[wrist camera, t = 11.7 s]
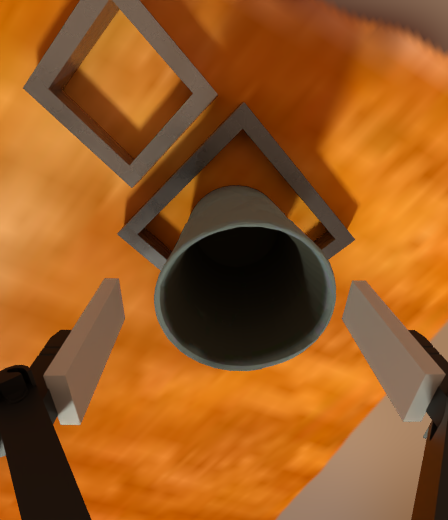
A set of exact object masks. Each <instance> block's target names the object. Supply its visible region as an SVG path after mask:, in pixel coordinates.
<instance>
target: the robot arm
mask: <svg viewBox="0 0 448 520" xmlns="http://www.w3.org/2000/svg"><path fill="white" fill-rule="evenodd" d="M124 319H125V315H124V309H123V303H122V296H121V290H120V284H119V279H115V278H105V279H104V280H103V282H102V283H101V285H100V286H99V288H98V290H97V291H96V293H95V294H94V296H93V298H92V299H91V301H90V302H89V304H88V305H87V307H86V309H85V310H84V312H83V313H82V315H81V317H80V318H79V320H78V321H77V323H76V324H75V326H74V328H73V329H72V330H60V331H59V332H57V333H56V334H55V335H54V336H52V337H51V338H50V339H49V341H48V342H47V344H46V345H45V346H44V348H43V349H42V351H41V352H40V354H39V356H37V358H36V359H35V361H34V362H33V364H32V365H31V366H30V368H29V367H28V366H24V365H14V366H11V367H8V368H5V369H3V370H2V371H0V457H2V456H5V455H6V457H7V461H8V465H9V469H10V474H11V478H12V482H13V486H14V490H15V494H16V499H17V503H18V507H19V511H20V515H21V519H22V520H91V518H90V515H89V513H88V510H87V508H86V505H85V503H84V500H83V498H82V495H81V493H80V490H79V488H78V486H77V483H76V481H75V478H74V476H73V473H72V471H71V468H70V466H69V463H68V461H67V458H66V456H65V453H64V451H63V449H62V446H61V444H60V441H59V439H58V436H57V434H56V431H55V429H54V426H53V423H54V421H55V419H56V417H57V416H58V419H59V421H60V424H61V425H80V424H81V422H82V420H83V417H84V415H85V412H86V410H87V408H88V405H89V403H90V400H91V398H92V396H93V393H94V391H95V389H96V386H97V384H98V381H99V379H100V377H101V374H102V372H103V369H104V367H105V365H106V362H107V360H108V358H109V355H110V353H111V350H112V348H113V346H114V343H115V341H116V338H117V336H118V334H119V331H120V329H121V327H122V324H123V322H124ZM342 320H343V322H344V323H345V325H346V327H347V328H348V330H349V332H350V333H351V335H352V337H353V338H354V340H355V342H356V343H357V345H358V347H359V348H360V350H361V352H362V354H363V355H364V357H365V359H366V360H367V362H368V364H369V365H370V367H371V369H372V370H373V372H374V374H375V375H376V377H377V379H378V380H379V382H380V384H381V385H382V387H383V389H384V390H385V392H386V394H387V396H388V397H389V399H390V401H391V402H392V404H393V406H394V407H395V408H396V410H397V412H398V414H399V416H400V417H401V419H402V421H403V422H404V421H408V422H411V421H422V418H423V417H424V414H425V413H426V412H427V413H428V415H429V416H430V418H431V419H432V422H431V423H430V425H429V427H428V429H427V431H426V433H425V434H424V436H423V438H425V439H426V438H427V440H426V445H425V451H424V457H423V461H422V466H421V472H420V477H419V482H418V488H417V493H416V498H415V503H414V508H413V514H412V519H411V520H448V362H447V361H446V360H445V359H444V358H443V356H442V355H440V354H439V352H438V351H437V350H436V349H435V348H433V345H432V344H431V343H430V342H429V341H428V340H427V339H426V338H425V337H424V336H422V335H421V334H419V333H418V332H417V331H415V330H407V329H406V327H405V326H404V325H403V324H402V323H401V322H400V320H399V319H398V318H397V317H396V316H395V315H394V313H393V312H392V311H391V310H390V309H389V308H388V306H387V305H386V304H385V303H384V302H383V301H382V299H381V298H380V297H379V296H378V295H377V294H376V292H375V291H374V290H373V289H372V288H371V287H370V285H369V284H368V283H367V282H366V281H352V284H351V287H350V291H349V295H348V299H347V302H346V306H345V310H344V314H343V317H342Z"/></svg>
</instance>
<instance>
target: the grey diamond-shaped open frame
mask: <svg viewBox="0 0 448 520" xmlns="http://www.w3.org/2000/svg"><path fill="white" fill-rule="evenodd" d="M119 9H120V10H121V11H122V12H123V13H124V14H125V16H126V17H127V18H128V19H129V20H130V21H131V22H132V24H133V25H134V26H135V27H136V28H137V29H138V30H139V32H140V33H141V34H142V35H143V36H144V37H145V39H146V40H147V41H148V42H149V43H150V44H151V45H152V47H153V48H154V49H155V50H156V51H157V52H158V54H159V55H160V56H161V57H162V58H163V59H164V60H165V62H166V63H167V64H168V65H169V66H170V67H171V69H172V70H173V71H174V72H175V73H176V74H177V75H178V77H179V78H180V79H181V80H182V81H183V82H184V84H185V85H186V86H187V87H188V88H189V89H190V90H191V92H192V93H193V94H192V95H191V96H190V98H189V99H188V100H187V101H186V102H185V103H184V104H183V106H182V107H181V108H180V109H179V110H178V111H177V112H176V113H175V115H174V116H173V117H172V118H171V119H170V120H169V121H168V123H167V124H166V125H165V126H164V127H163V128H162V129H161V130H160V132H159V133H158V134H157V135H156V136H155V137H154V138H153V140H152V141H151V142H150V143H149V144H148V145H147V146H146V147H145V149H144V150H143V151H142V152H141V153H140V154H139V155H138V157H137V158H136V159H135V160H134V159H133V158H132V157H131V156H130V155H129V154H128V153H127V152H126V151H125V150H124V149H123V148H122V147H121V146H120V145H119V144H117V143H116V142H115V141H114V140H113V139H112V138H111V137H110V136H109V135H108V134H107V133H106V132H105V131H104V130H103V129H102V128H101V127H100V126H99V125H98V124H97V123H96V122H95V121H94V120H92V119H91V118H90V117H89V116H88V115H87V114H86V113H85V112H84V111H83V110H82V109H81V108H80V107H79V106H78V105H77V104H76V103H75V102H74V101H73V100H72V99H71V98H70V97H69V96H68V95H66V94H65V93H64V92H63V91H62V90H63V88H64V87H65V85H66V84H67V83H68V81H69V80H70V78H71V77H72V75H73V74H74V73H75V71H76V70H77V68H78V67H79V66H80V64H81V63H82V61H83V60H84V58H85V57H86V56H87V54H88V53H89V51H90V50H91V49H92V47H93V46H94V44H95V43H96V41H97V40H98V39H99V37H100V36H101V34H102V33H103V31H104V30H105V29H106V27H107V26H108V24H109V23H110V22H111V20H112V19H113V17H114V16H115V14H116V13H117V12H118V10H119ZM23 89H25V90H26V91H27V92H28V93H29V94H30V95H31V96H32V97H33V98H34V99H35V100H37V101H38V102H39V103H40V104H41V105H42V106H43V107H44V108H45V109H46V110H47V111H49V112H50V113H51V114H52V115H53V116H54V117H55V118H56V119H57V120H58V121H59V122H61V123H62V124H63V125H64V126H65V127H66V128H67V129H68V130H69V131H70V132H71V133H73V134H74V135H75V136H76V137H77V138H78V139H79V140H80V141H81V142H82V143H83V144H85V145H86V146H87V147H88V148H89V149H90V150H91V151H92V152H93V153H94V154H95V155H97V156H98V157H99V158H100V159H101V160H102V161H103V162H104V163H105V164H106V165H107V166H109V167H110V168H111V169H112V170H113V171H114V172H115V173H116V174H117V175H118V176H119V177H120V178H122V179H123V180H124V181H125V182H126V183H127V184H128V185H129V186H130V187H131V188H132V187H134V186H135V185H136V184H137V183H138V182H139V181H140V180H141V179H142V178H143V177H144V176H145V174H146V173H147V172H148V171H149V170H150V169H151V168H152V167H153V166H154V165H155V164H156V162H157V161H158V160H159V159H160V158H161V157H162V156H163V155H164V154H165V153H166V152H167V150H168V149H169V148H170V147H171V146H172V145H173V144H174V143H175V142H176V141H177V140H178V138H179V137H180V136H181V135H182V134H183V133H184V132H185V131H186V130H187V129H188V128H189V126H190V125H191V124H192V123H193V122H194V121H195V120H196V119H197V118H198V117H199V116H200V114H201V113H202V112H203V111H204V110H205V109H206V108H207V107H208V106H209V105H210V104H211V102H212V101H213V100H214V99H215V98H216V97H217V96H218V94H217V93H216V92H215V90H214V89H213V88H212V87H211V86H210V84H209V83H208V82H207V81H206V80H205V78H204V77H203V76H202V75H201V74H200V72H199V71H198V70H197V69H196V68H195V66H194V65H193V64H192V63H191V62H190V60H189V59H188V58H187V57H186V56H185V54H184V53H183V52H182V51H181V50H180V48H179V47H178V46H177V45H176V44H175V42H174V41H173V40H172V39H171V38H170V36H169V35H168V34H167V33H166V32H165V30H164V29H163V28H162V27H161V26H160V24H159V23H158V22H157V21H156V20H155V18H154V17H153V16H152V15H151V14H150V12H149V11H148V10H147V9H146V8H145V7H144V5H143V4H142V3H141V2H140V1H139V0H80V1H79V3H78V4H77V6H76V7H75V9H74V10H73V12H72V13H71V15H70V16H69V18H68V20H67V21H66V23H65V24H64V26H63V27H62V29H61V30H60V32H59V33H58V35H57V36H56V38H55V40H54V41H53V43H52V44H51V46H50V47H49V49H48V50H47V52H46V53H45V55H44V56H43V58H42V59H41V61H40V63H39V64H38V66H37V67H36V69H35V70H34V72H33V73H32V75H31V76H30V78H29V79H28V81H27V83H26V84H25V86H24V87H23Z"/></svg>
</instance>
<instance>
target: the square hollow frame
mask: <svg viewBox="0 0 448 520" xmlns="http://www.w3.org/2000/svg"><path fill="white" fill-rule="evenodd" d="M242 129H243V130H244V131H245V132H246V133H247V135H248V136H249V137H250V138H251V139H252V141H253V142H254V143H255V144H256V145H257V146H258V148H259V149H260V150H261V151H262V152H263V154H264V155H265V156H266V157H267V158H268V160H269V161H270V162H271V163H272V164H273V165H274V167H275V168H276V169H277V170H278V171H279V173H280V174H281V175H282V176H283V177H284V179H285V180H286V181H287V182H288V183H289V185H290V186H291V187H292V188H293V189H294V190H295V192H296V193H297V194H298V195H299V196H300V198H301V199H302V200H303V201H304V202H305V204H306V205H307V206H308V207H309V208H310V210H311V211H312V212H313V213H314V214H315V215H316V217H317V218H318V219H319V220H320V221H321V223H322V224H323V225H324V226H325V227H326V229H327V230H328V231H327V232H326V233H325V234H323V235H322V236H321V237H319V238H318V239H317V240H316V241H314V243H315V244H316V245H317V246H318V247H319V248H320V249H321V250H322V252H323V253H324V255H325V256H326V258H327V259H330V258H331V257H332V256H334V255H335V254H337V253H338V252H339V251H341V250H342V249H343V248H345V247H346V246H347V245H349V244H350V243H352V242H353V241H354V240H355V239H354V238H353V236H352V235H351V234H350V233H349V231H348V230H347V229H346V228H345V226H344V225H343V224H342V223H341V221H340V220H339V219H338V218H337V217H336V215H335V214H334V213H333V212H332V210H331V209H330V208H329V207H328V205H327V204H326V203H325V202H324V200H323V199H322V198H321V197H320V195H319V194H318V193H317V192H316V191H315V189H314V188H313V187H312V186H311V184H310V183H309V182H308V181H307V179H306V178H305V177H304V176H303V174H302V173H301V172H300V171H299V169H298V168H297V167H296V166H295V165H294V163H293V162H292V161H291V160H290V158H289V157H288V156H287V155H286V153H285V152H284V151H283V150H282V148H281V147H280V146H279V145H278V144H277V142H276V141H275V140H274V139H273V137H272V136H271V135H270V134H269V132H268V131H267V130H266V129H265V127H264V126H263V125H262V124H261V122H260V121H259V120H258V119H257V118H256V116H255V115H254V114H253V113H252V111H251V110H250V109H249V108H248V106H247V105H246V104H245V103H244V102H242V103H241V104H240V105H239V106H238V107H237V108H236V110H235V111H234V112H233V113H232V114H231V115H230V116H229V117H228V118H227V119H226V120H225V121H224V122H223V123H222V124H221V125H220V126H219V127H218V128H217V129H216V130H215V131H214V132H213V134H212V135H211V136H210V137H209V138H208V139H207V140H206V141H205V142H204V143H203V144H202V145H201V146H200V147H199V148H198V149H197V150H196V151H195V152H194V153H193V154H192V155H191V156H190V157H189V159H188V160H187V161H186V162H185V163H184V164H183V165H182V166H181V167H180V168H179V169H178V170H177V171H176V172H175V173H174V174H173V175H172V176H171V177H170V178H169V179H168V180H167V181H166V183H165V184H164V185H163V186H162V187H161V188H160V189H159V190H158V191H157V192H156V193H155V194H154V195H153V196H152V197H151V198H150V199H149V200H148V201H147V202H146V203H145V204H144V205H143V207H142V208H141V209H140V210H139V211H138V212H137V213H136V214H135V215H134V216H133V217H132V218H131V219H130V220H129V221H128V222H127V223H126V224H125V225H124V226H123V228H122V229H121V230H120V231H119V232H118V235H119V236H120V237H121V238H122V239H124V240H125V241H126V242H127V243H128V244H130V245H131V246H132V247H133V248H134V249H136V250H137V251H138V252H139V253H140V254H142V255H143V256H144V257H145V258H146V259H148V260H149V261H150V262H151V263H152V264H154V265H155V266H156V267H157V268H158V269H160V270H162V268H163V266H164V264H165V263H166V261H167V259H168V258H169V256H170V254H171V253H172V251H171V250H169V249H168V248H167V247H166V246H165V245H164V244H163V243H161V242H160V241H159V240H158V239H157V238H156V237H155V236H153V235H152V234H151V233H150V232H149V231H148V230H147V229H145V228H144V227H145V226H146V225H147V224H148V223H149V222H150V221H151V220H152V219H153V218H154V217H155V216H156V215H157V214H158V213H159V212H160V211H161V210H162V209H163V208H164V207H165V206H166V205H167V204H168V203H169V202H170V201H171V200H172V199H173V198H174V197H175V196H176V195H177V194H178V193H179V192H180V191H181V190H182V189H183V188H184V187H185V186H186V185H187V184H188V183H189V182H190V181H191V180H192V179H193V178H194V177H195V176H196V175H197V174H198V173H199V172H200V171H201V170H202V169H203V168H204V167H205V166H206V165H207V164H208V163H209V162H210V161H211V160H212V159H213V158H214V157H215V156H216V155H217V154H218V153H219V152H220V151H221V150H222V149H223V148H224V147H225V146H226V145H227V144H228V143H229V142H230V141H231V140H232V139H233V138H234V137H235V136H236V135H237V134H238V133H239V132H240V131H241V130H242Z"/></svg>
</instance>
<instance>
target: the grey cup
mask: <svg viewBox="0 0 448 520" xmlns="http://www.w3.org/2000/svg"><path fill="white" fill-rule="evenodd" d="M335 301H336V285H335V278H334V274H333V271H332V268H331V265H330V262H329V261H328V259H327V258H326V256H325V255H324V253H323V252H322V250H321V249H320V248H319V247H318V246H317V245H316V244H315V243H314V242H313V241H312V240H311V239H310V238H309V237H308V236H307V235H305V234H304V233H303V232H302V231H301V230H300V229H299V228H298V227H297V226H296V225H295V224H294V223H293V222H292V221H291V220H289V219H288V218H287V217H286V216H285V214H284V213H283V212H281V210H280V209H279V208H278V207H277V206H276V205H275V204H274V203H273V202H272V201H271V200H270V199H269V198H268V197H267V196H266V195H264V194H263V193H261V192H260V191H258V190H256V189H253V188H250V187H246V186H239V185H237V186H227V187H222V188H218V189H216V190H213V191H212V192H210V193H209V194H207V195H206V196H205V197H203V198H202V199H201V200H200V201H199V202H198V203H197V205H196V206H195V208H194V209H193V211H192V213H191V215H190V217H189V219H188V222H187V223H186V224H185V227H184V229H183V231H182V233H181V235H180V238H179V240H178V242H177V244H176V246H175V248H174V250H173V251H172V253H171V254H170V256H169V258H168V259H167V261H166V263H165V264H164V266H163V268H162V270H161V272H160V274H159V277H158V280H157V284H156V287H155V294H154V304H155V311H156V316H157V319H158V322H159V324H160V326H161V327H162V329H163V331H164V333H165V335H166V336H167V338H168V339H169V340H170V341H171V342H172V343H173V344H174V345H175V346H176V347H177V348H178V349H179V350H180V351H181V352H182V353H184V354H185V355H187V356H188V357H190V358H192V359H194V360H196V361H198V362H199V363H202V364H205V365H208V366H211V367H214V368H218V369H224V370H229V371H251V370H257V369H262V368H265V367H269V366H273V365H276V364H279V363H282V362H285V361H287V360H290V359H292V358H294V357H295V356H297V355H299V354H300V353H302V352H303V351H305V350H306V349H307V348H308V347H309V346H310V345H312V344H313V343H314V342H315V341H316V340H317V339H318V338H319V336H320V335H321V334H322V333H323V331H324V330H325V328H326V327H327V325H328V323H329V321H330V319H331V316H332V314H333V310H334V306H335Z"/></svg>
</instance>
